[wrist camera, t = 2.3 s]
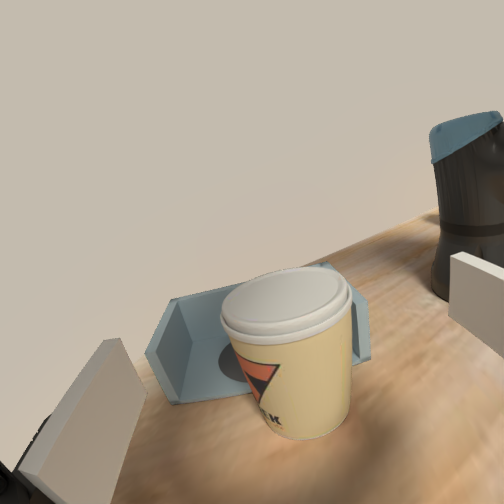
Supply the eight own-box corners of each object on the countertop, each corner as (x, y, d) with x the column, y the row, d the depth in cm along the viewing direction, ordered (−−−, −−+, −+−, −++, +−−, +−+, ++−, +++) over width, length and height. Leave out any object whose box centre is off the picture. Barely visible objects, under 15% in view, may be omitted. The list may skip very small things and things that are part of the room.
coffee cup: (246, 395, 27) (210, 289, 24) (331, 363, 28) (315, 256, 25) (272, 464, 18) (227, 345, 15) (379, 417, 19) (378, 290, 16)
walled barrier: (334, 307, 40) (327, 261, 38) (370, 359, 27) (367, 301, 25) (187, 342, 40) (170, 299, 38) (171, 404, 27) (144, 353, 25)
